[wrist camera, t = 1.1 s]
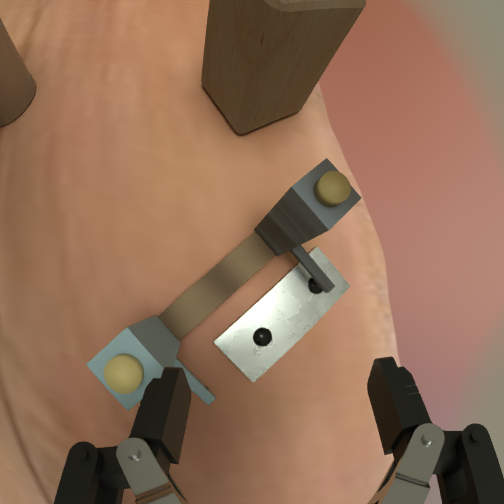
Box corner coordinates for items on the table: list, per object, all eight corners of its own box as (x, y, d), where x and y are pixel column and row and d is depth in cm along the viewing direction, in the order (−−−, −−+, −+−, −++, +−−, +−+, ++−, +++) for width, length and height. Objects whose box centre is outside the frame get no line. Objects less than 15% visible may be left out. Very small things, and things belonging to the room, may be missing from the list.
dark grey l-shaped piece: (189, 407, 28) (188, 493, 13) (126, 342, 28) (66, 380, 13) (335, 272, 33) (431, 252, 18) (280, 208, 33) (345, 141, 18)
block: (237, 140, 33) (283, 3, 14) (198, 84, 34) (212, -47, 14) (302, 112, 36) (374, 0, 16) (261, 63, 36) (303, -50, 17)
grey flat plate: (251, 380, 30) (253, 382, 29) (213, 340, 30) (213, 342, 29) (347, 286, 33) (350, 286, 32) (314, 247, 33) (317, 245, 32)
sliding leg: (198, 405, 27) (203, 485, 13) (132, 336, 27) (78, 368, 13) (223, 384, 28) (248, 453, 14) (157, 313, 28) (121, 329, 14)
